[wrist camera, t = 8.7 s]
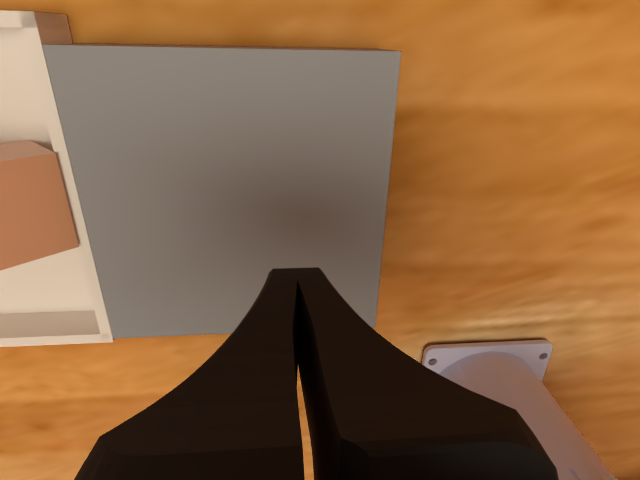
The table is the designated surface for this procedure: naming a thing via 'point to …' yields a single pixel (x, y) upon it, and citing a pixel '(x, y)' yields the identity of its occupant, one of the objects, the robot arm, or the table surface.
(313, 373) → the robot arm
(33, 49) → the tray
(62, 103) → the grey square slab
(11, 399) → the table surface
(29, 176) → the orange brown block
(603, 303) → the table surface
